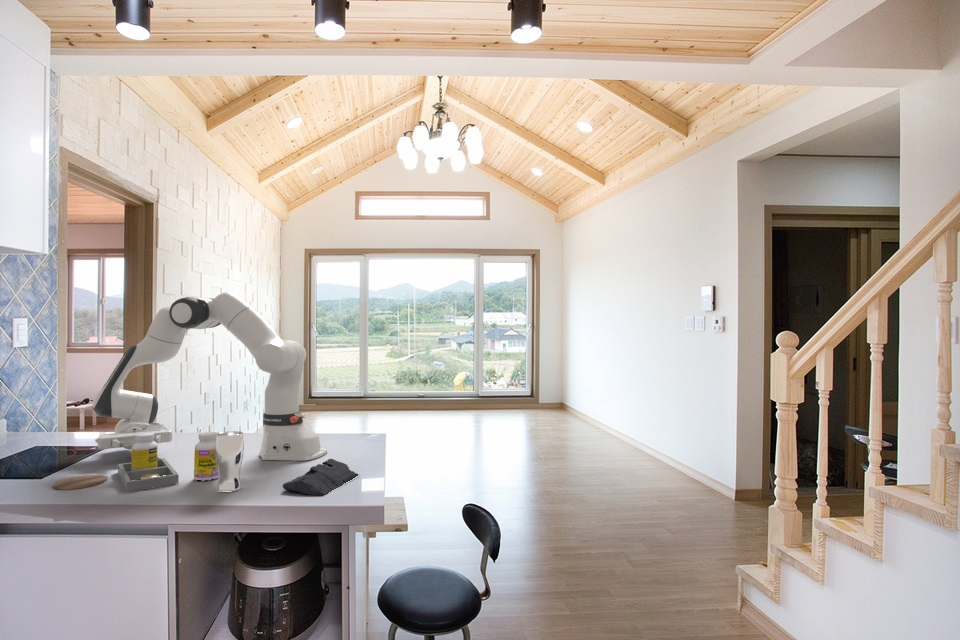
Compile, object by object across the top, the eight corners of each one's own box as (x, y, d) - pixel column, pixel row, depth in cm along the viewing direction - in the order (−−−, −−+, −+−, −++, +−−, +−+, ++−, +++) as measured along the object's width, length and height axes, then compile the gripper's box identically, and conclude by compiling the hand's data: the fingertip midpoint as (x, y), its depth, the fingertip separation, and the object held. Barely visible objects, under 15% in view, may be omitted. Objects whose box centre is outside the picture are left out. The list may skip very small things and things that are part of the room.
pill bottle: (144, 477, 151) (145, 437, 151) (125, 476, 152) (126, 436, 152) (162, 471, 157) (163, 432, 157) (144, 470, 159) (144, 431, 159)
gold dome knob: (162, 481, 148) (163, 474, 148) (149, 486, 144) (149, 478, 144) (150, 480, 149) (150, 473, 149) (136, 484, 145) (136, 477, 145)
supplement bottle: (193, 482, 146) (194, 436, 146) (194, 476, 152) (194, 432, 152) (220, 479, 149) (221, 434, 150) (219, 473, 155) (220, 430, 155)
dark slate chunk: (272, 494, 139) (272, 476, 139) (317, 471, 160) (317, 456, 160) (323, 499, 135) (323, 481, 135) (363, 476, 156) (363, 460, 156)
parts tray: (117, 472, 156) (117, 464, 156) (164, 466, 163) (164, 458, 163) (126, 492, 138) (126, 482, 138) (178, 483, 145) (178, 474, 145)
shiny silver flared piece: (234, 483, 146) (235, 429, 146) (248, 488, 142) (248, 433, 142) (209, 490, 140) (210, 433, 140) (222, 495, 136) (223, 437, 136)
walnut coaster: (117, 478, 150) (117, 476, 150) (76, 491, 138) (76, 489, 138) (84, 475, 152) (84, 473, 152) (41, 487, 141) (41, 485, 141)
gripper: (94, 429, 168) (97, 436, 158) (168, 422, 181) (175, 429, 171) (94, 449, 168) (97, 457, 158) (167, 441, 181) (175, 448, 170)
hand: (138, 442), depth 164 cm, fingers open, 8 cm apart
